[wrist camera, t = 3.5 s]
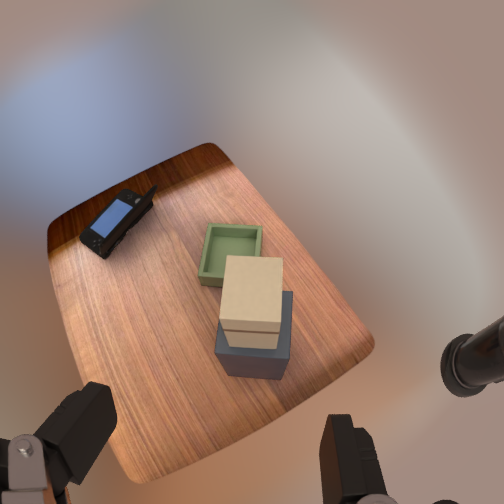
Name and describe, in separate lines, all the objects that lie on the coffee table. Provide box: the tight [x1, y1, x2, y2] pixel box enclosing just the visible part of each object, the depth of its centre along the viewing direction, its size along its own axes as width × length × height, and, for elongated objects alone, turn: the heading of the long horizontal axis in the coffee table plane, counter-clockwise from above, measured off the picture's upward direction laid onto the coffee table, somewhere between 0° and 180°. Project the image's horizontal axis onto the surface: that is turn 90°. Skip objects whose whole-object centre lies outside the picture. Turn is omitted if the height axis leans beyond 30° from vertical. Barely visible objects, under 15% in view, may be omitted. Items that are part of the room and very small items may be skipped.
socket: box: [198, 223, 262, 287], centre depth 54 cm, size 10×11×4 cm
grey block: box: [214, 291, 293, 380], centre depth 41 cm, size 8×8×15 cm
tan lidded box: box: [219, 255, 283, 349], centre depth 31 cm, size 5×6×9 cm
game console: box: [79, 184, 158, 259], centre depth 57 cm, size 16×14×9 cm
